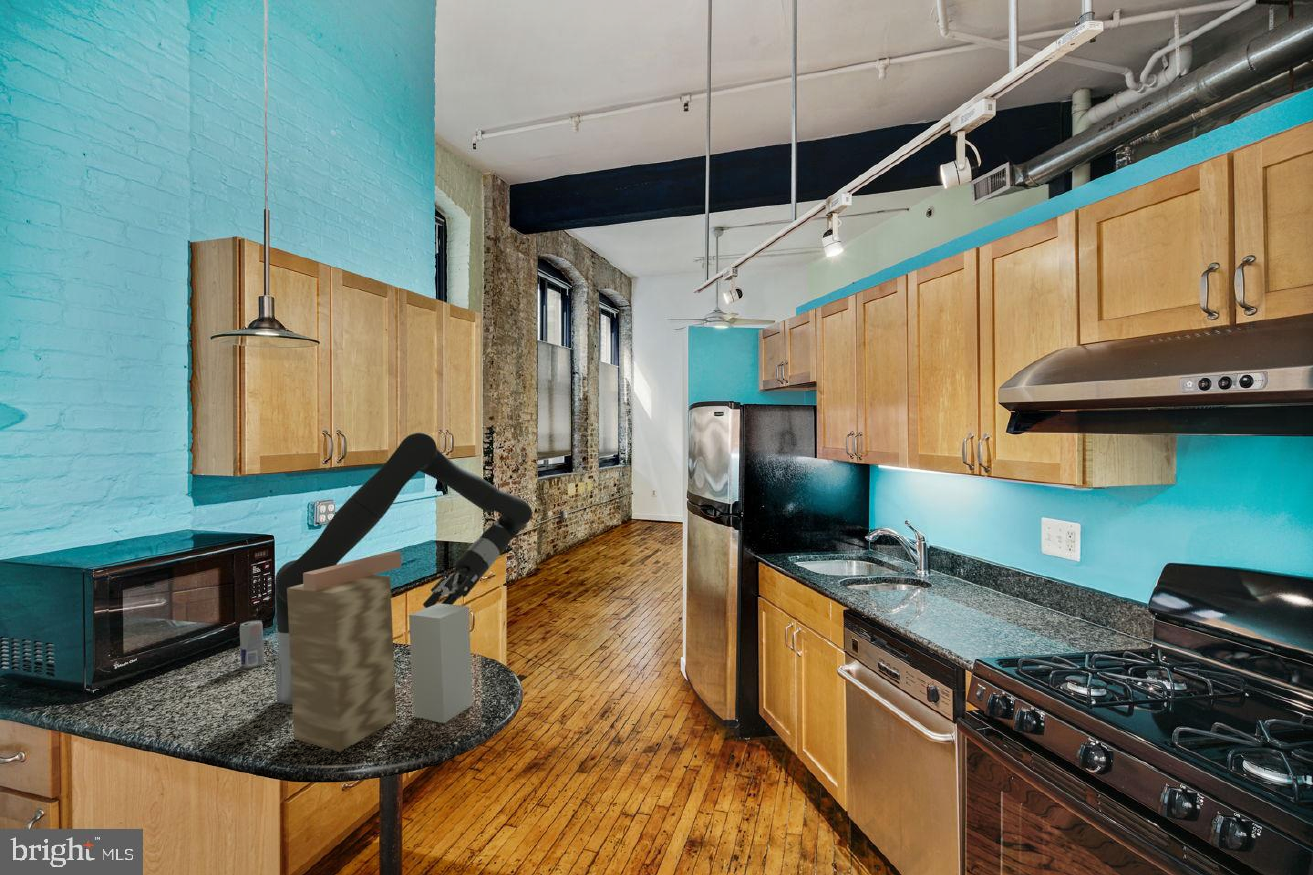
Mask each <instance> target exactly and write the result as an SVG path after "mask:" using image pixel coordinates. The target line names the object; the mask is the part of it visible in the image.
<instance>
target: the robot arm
mask: <svg viewBox="0 0 1313 875" xmlns="http://www.w3.org/2000/svg"><path fill="white" fill-rule="evenodd" d="M419 472H420V473H423V474H425V475H427V476H429V477H431V478H433V479H435V480H437V481H439V482H440V483H443V484H444V485H446V486H447V487H449V488H450V489H452V490H453V491H455V492H456V493H457V494H458V495H460V496H461V497H463V498H465V499H466V500H467V501H469V502H470V503H472V504H474V506H477V507H478V508H479V509H481V510H482V511H484V512H486V513H492V512H496V513H498V514H499V515H500V516H499V517H498V518H497V520H496V521H495V522H494V523H493V524H492V525H491V526H489V527H488V528H487V529H486V530H485V531H484V532H483V533H482V535H481V536H479V538H477V539H476V541H474V542H472V544H471V545H470V546H469V547H468V548H467V549H466V550H465V551H464V552H463V553H462V555H461V556H460V557H459V558H458V559H457V560H456V561H455V563H454V567H455V571H454V572H453V573H451V574H449V572H446V573H445V574H444V575H443V576H442V578H441V579H439V580H438V582H436V583H435V584H434V585H433V587H432V588H430V591H431V595H430V596H429V597H427V599H426V600H425V601H424V602H423V604H422V606H423V607H424V609H425V608H428V607H430V606H433V605H436V604H438V602H439V601H440V599H442V598H443V597H444V596H446V597H445V598H444V599H443V600H442V601H441V602H440V603H441V604H450V605H455V602H456V601H457V600H460V599H461V598H462V597H463V598H466V597H467V596H468V595H469V593H470V592H471V590H472V589H473V588H474V587H475V586H476V585H477V584H478V582H480V580H481V579H482V578H483V576H484V575H485V574H486V572H488V571H489V569H490V568H491V567H492V566H493V565H494V563H495V562H496V561H497V558H498V557H499V556H500V555H501V554H502V553H503V552H504V550H505V549H507V547H508V546H509V544H510V543H511V541H512V540H513V539H514V538H515V537H516V536H517V535H518V534H519V532H521V531H522V529H523V528H524V527H526V525H527V524H528V523H529V521H530V520H531V519H532V516H533V510H532V507H531V506H530V504H528V503H527V501H525V500H524V499H522V498H520V497H518V496H516V495H513V494H510V493H508V492H505V491H503V490H501V489H499V488H497V487H496V486H494V485H493V484H491V483H490V482H489V481H487V480H485V479H484V478H483V477H480V476H479V475H477V474H475V473H473V472H471V471H469V470H467V469H465V468H463V467H461V466H460V465H458V464H457V463H454V462H453V461H452V460H450V459H449V458H448V457H446V455H445V454H444V453H442V452H441V451H440V450H439V449H438V447H437V443H436V441H435V439H434V438H433V437H432V436H431V435H430V434H428V433H425V432H414V433H412V434H409V435H407V436H406V437H405V438H404V439H403V440H402V441H401V443H400V444H399V445H398V447H396V449H395V450H394V452H393V453H392V454H391V456H390V457H389V458H388V460H386V462H385V463H384V464H383V466H381V468H380V469H379V470H378V471H376V472H375V473H374V474H373V475H372V476H371V477H370V478H369V479H367V481H366V482H364V483H363V484H362V485H361V486H360V487H359V488H358V489H357V490H356V491H355V492H354V493H353V494H352V495H351V497H349V498H348V499H347V500H346V501H345V502H344V503H343V505H342V506H340V508H339V509H338V510H337V511H336V512H335V514H334V515H333V517H331V519H330V521H329V522H328V523H327V525H326V527H325V528H324V529H323V531H322V533H321V534H320V535H319V536H318V538H317V539H316V541H315V542H314V543H313V544H312V545H311V546H310V547H309V548H308V549H307V550H306V551H305V552H304V553H303V554H302V555H301V556H300V557H299V558H297V559H294V560H290V561H288V562H286V563H285V564H283V565H282V566H281V567H280V568H279V570H278V571H277V573H276V575H275V580H274V582H275V583H274V586H275V587H274V588H275V604H276V627H277V628H276V630H277V646H278V647H277V650H278V661H277V662H276V663H275V665H274V671H275V673H274V674H275V691H276V692H275V693H276V694H275V695H276V703H277V704H284V705H287V706H288V705H292V685H291V664H290V642H289V621H288V599H287V588H290V587H293V586H297V585H301V584H303V573H306V572H310V571H314V570H318V569H322V568H326V567H330V566H334V565H338V564H339V563H340V561H341V560H342V559H343V558H344V557H345V556H346V555H347V554H348V553H349V552H350V551H351V550H352V549H353V548H355V547H356V546H357V545H358V544H359V543H360V542H361V541H362V539H364V538H365V537H366V535H367V534H369V533H370V532H371V530H372V529H374V527H376V525H377V524H379V523H378V522H380V521H381V520H382V518H383V517H384V516H385V514H386V513H387V512H388V511H389V509H390V508H391V507H392V505H393V504H394V503H395V500H396V499H397V498H398V496H399V494H400V492H401V491H402V489H403V488H404V487H405V485H406V484H408V482H409V481H410V480H411V479H412V478H413V477H414V476H415V475H417V474H418V473H419Z"/></svg>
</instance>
